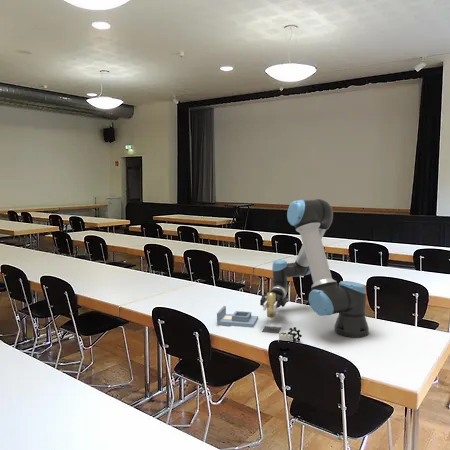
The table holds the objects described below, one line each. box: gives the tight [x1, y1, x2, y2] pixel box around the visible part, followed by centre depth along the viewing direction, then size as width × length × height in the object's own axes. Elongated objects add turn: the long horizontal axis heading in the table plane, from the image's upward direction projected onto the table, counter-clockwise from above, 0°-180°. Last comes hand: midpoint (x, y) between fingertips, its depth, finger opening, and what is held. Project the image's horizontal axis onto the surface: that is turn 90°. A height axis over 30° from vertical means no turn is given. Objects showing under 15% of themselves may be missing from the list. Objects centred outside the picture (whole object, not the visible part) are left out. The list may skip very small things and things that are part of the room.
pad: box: [261, 325, 282, 334], centre depth 203 cm, size 8×8×1 cm
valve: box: [278, 326, 303, 342], centre depth 185 cm, size 7×7×12 cm
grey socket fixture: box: [216, 305, 259, 328], centre depth 214 cm, size 18×12×6 cm, turn 75°
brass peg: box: [266, 292, 277, 319], centre depth 202 cm, size 4×4×11 cm
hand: (269, 307), depth 197 cm, fingers closed on brass peg, 4 cm apart
